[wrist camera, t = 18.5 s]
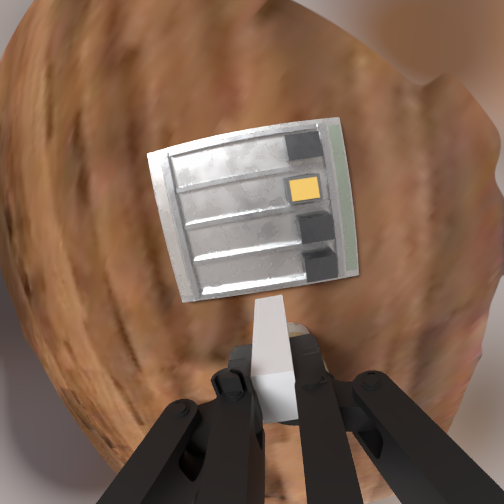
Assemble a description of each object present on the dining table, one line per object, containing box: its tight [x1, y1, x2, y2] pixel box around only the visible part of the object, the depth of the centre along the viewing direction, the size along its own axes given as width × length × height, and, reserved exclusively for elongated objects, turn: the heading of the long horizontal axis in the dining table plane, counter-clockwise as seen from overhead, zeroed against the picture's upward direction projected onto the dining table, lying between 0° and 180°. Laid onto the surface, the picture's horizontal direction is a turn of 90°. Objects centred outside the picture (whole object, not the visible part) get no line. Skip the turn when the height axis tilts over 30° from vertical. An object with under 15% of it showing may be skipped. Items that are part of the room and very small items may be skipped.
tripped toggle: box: [283, 173, 323, 205], centre depth 33 cm, size 4×3×4 cm
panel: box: [147, 117, 359, 302], centre depth 36 cm, size 26×22×6 cm
